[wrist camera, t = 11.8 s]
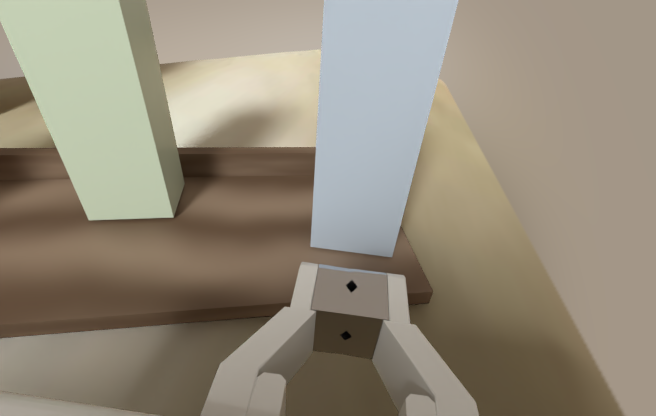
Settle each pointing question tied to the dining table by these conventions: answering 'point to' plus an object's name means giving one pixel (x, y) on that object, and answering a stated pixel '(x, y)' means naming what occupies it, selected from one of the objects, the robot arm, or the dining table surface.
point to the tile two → (373, 116)
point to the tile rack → (167, 245)
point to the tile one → (101, 101)
